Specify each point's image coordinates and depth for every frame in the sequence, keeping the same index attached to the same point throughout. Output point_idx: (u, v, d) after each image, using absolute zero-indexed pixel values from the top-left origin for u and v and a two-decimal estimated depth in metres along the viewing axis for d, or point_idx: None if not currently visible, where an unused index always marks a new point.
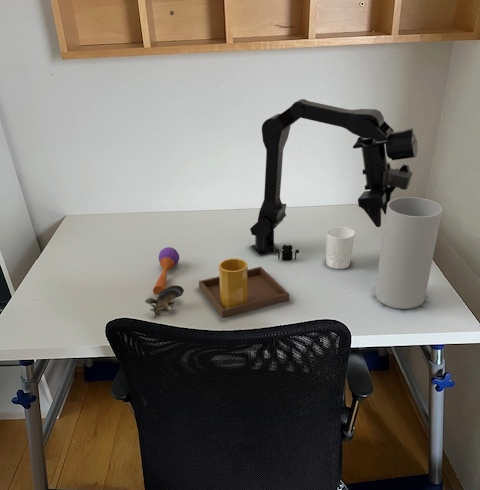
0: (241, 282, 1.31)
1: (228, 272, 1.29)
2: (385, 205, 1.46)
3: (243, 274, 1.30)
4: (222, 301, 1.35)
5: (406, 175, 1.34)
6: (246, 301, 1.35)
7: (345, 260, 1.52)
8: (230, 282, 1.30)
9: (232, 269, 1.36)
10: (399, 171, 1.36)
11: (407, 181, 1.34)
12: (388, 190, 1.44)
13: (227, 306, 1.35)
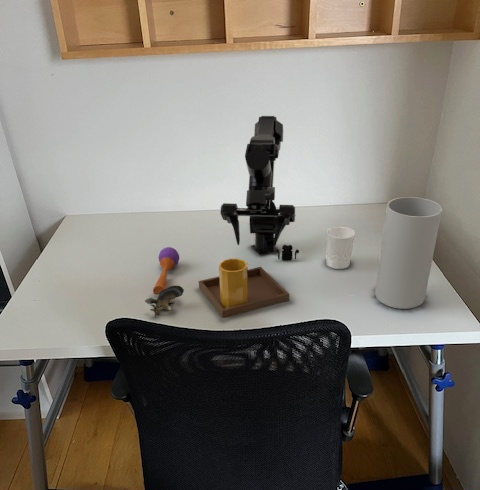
0: (241, 282, 1.31)
1: (228, 272, 1.29)
2: (274, 236, 1.35)
3: (243, 274, 1.30)
4: (222, 301, 1.35)
5: None
6: (246, 301, 1.35)
7: (345, 260, 1.52)
8: (230, 282, 1.30)
9: (232, 269, 1.36)
10: None
11: (248, 194, 1.29)
12: None
13: (227, 306, 1.35)
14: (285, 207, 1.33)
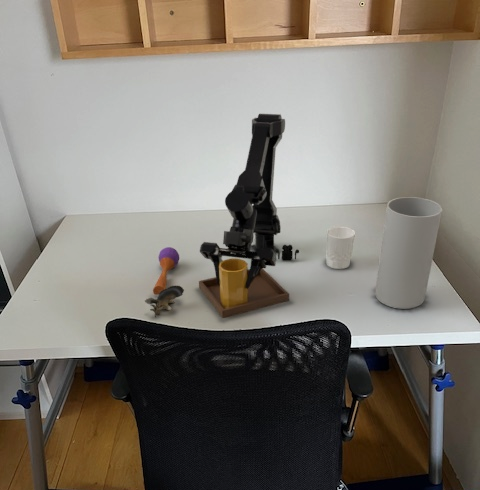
0: (241, 282, 1.31)
1: (228, 272, 1.29)
2: None
3: (244, 275, 1.30)
4: (222, 301, 1.35)
5: None
6: (246, 301, 1.35)
7: (345, 260, 1.52)
8: (230, 282, 1.30)
9: (232, 269, 1.36)
10: None
11: (224, 235, 1.28)
12: None
13: (227, 306, 1.35)
14: (263, 250, 1.30)
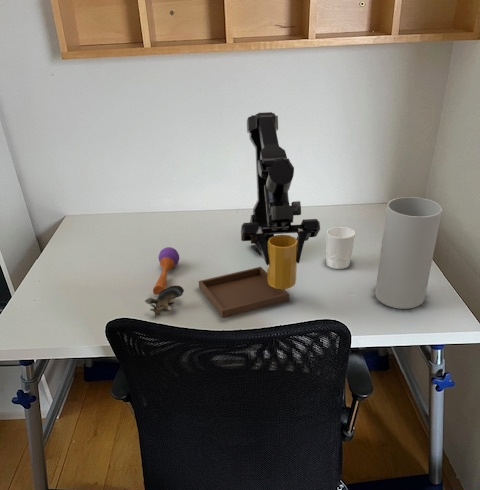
0: (294, 257, 1.27)
1: (284, 248, 1.24)
2: (297, 253, 1.29)
3: (296, 249, 1.26)
4: (273, 281, 1.30)
5: None
6: (295, 277, 1.31)
7: (345, 260, 1.52)
8: (285, 259, 1.25)
9: None
10: None
11: (274, 210, 1.22)
12: (298, 235, 1.29)
13: (280, 285, 1.29)
14: (310, 221, 1.28)
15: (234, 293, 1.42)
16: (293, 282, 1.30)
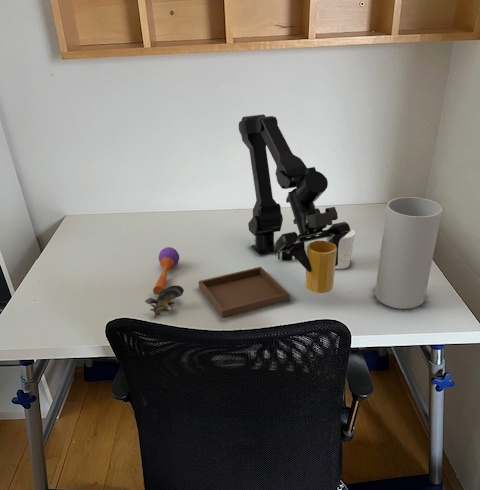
0: (335, 260, 1.32)
1: (328, 254, 1.28)
2: None
3: None
4: (316, 286, 1.33)
5: None
6: None
7: (345, 260, 1.52)
8: (329, 264, 1.30)
9: None
10: None
11: (315, 218, 1.26)
12: (332, 239, 1.34)
13: (323, 289, 1.33)
14: (341, 225, 1.33)
15: (234, 293, 1.42)
16: (332, 285, 1.35)
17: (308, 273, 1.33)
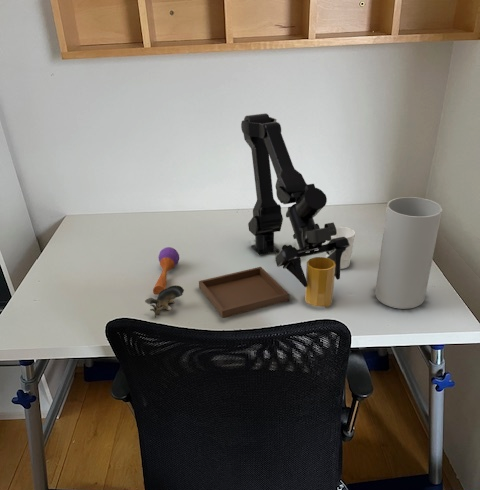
0: None
1: (327, 270, 1.30)
2: (335, 270, 1.36)
3: (334, 269, 1.34)
4: (315, 302, 1.36)
5: (317, 229, 1.29)
6: None
7: (345, 260, 1.52)
8: (327, 280, 1.32)
9: None
10: (320, 228, 1.32)
11: (315, 234, 1.28)
12: (334, 253, 1.36)
13: (322, 305, 1.36)
14: (340, 240, 1.35)
15: (234, 293, 1.42)
16: (331, 300, 1.38)
17: (307, 289, 1.35)
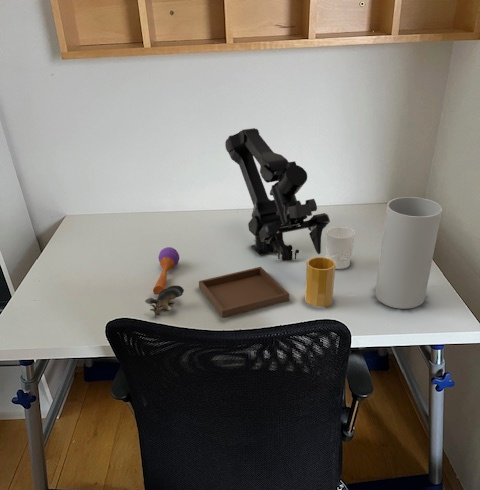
0: None
1: (327, 270, 1.30)
2: (316, 245, 1.43)
3: (334, 269, 1.34)
4: (315, 302, 1.36)
5: None
6: None
7: (345, 260, 1.52)
8: (327, 280, 1.32)
9: None
10: None
11: (296, 209, 1.35)
12: (315, 229, 1.42)
13: (322, 305, 1.36)
14: (321, 216, 1.42)
15: (234, 293, 1.42)
16: (331, 300, 1.38)
17: (307, 289, 1.35)
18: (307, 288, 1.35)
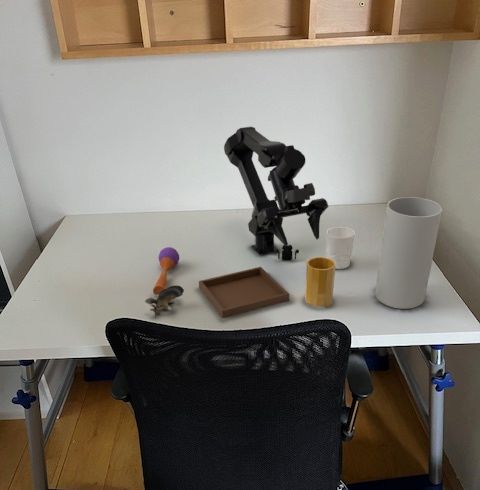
0: None
1: (327, 270, 1.30)
2: (314, 230, 1.42)
3: (334, 269, 1.34)
4: (315, 302, 1.36)
5: None
6: None
7: (345, 260, 1.52)
8: (327, 280, 1.32)
9: None
10: None
11: (294, 193, 1.34)
12: (313, 214, 1.42)
13: (322, 305, 1.36)
14: (319, 201, 1.41)
15: (234, 293, 1.42)
16: (331, 300, 1.38)
17: (307, 289, 1.35)
18: (307, 288, 1.35)
